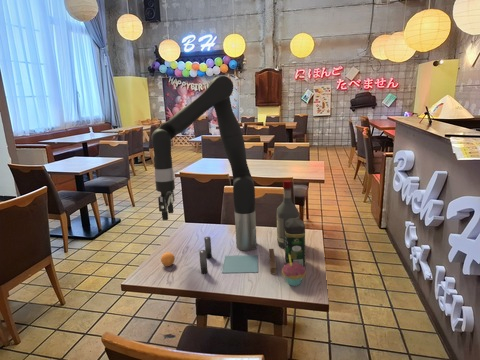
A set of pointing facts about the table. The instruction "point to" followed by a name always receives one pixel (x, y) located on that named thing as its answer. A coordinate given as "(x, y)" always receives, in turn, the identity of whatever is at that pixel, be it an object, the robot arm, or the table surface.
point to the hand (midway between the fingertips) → (168, 216)
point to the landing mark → (240, 264)
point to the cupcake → (293, 272)
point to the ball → (167, 259)
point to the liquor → (285, 213)
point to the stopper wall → (272, 261)
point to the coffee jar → (295, 241)
